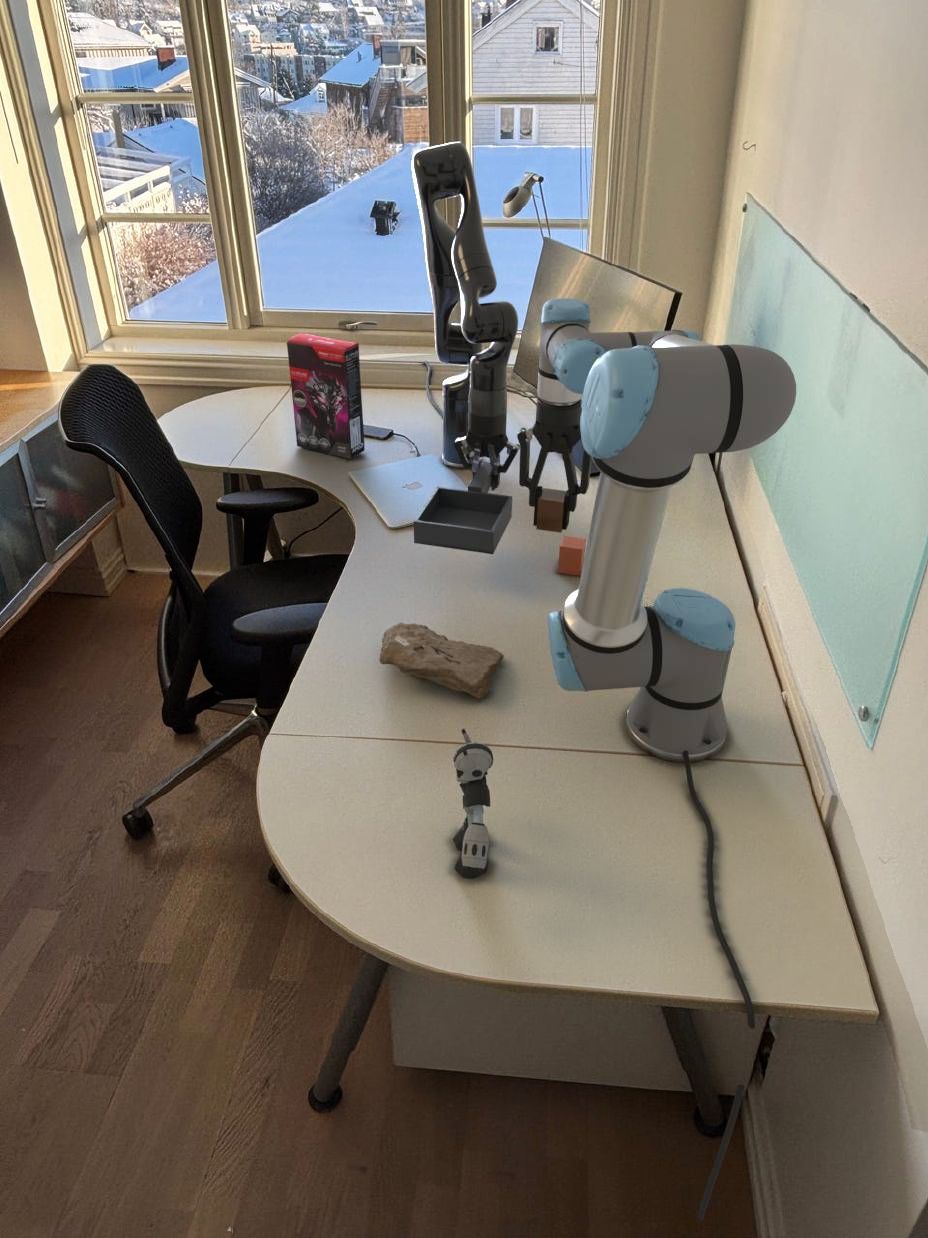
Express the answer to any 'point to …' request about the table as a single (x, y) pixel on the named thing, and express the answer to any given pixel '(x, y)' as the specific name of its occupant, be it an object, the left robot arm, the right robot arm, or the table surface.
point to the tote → (465, 516)
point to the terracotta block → (571, 555)
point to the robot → (473, 807)
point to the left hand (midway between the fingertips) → (485, 487)
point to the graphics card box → (326, 394)
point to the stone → (440, 658)
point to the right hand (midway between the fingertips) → (551, 524)
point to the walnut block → (550, 510)
